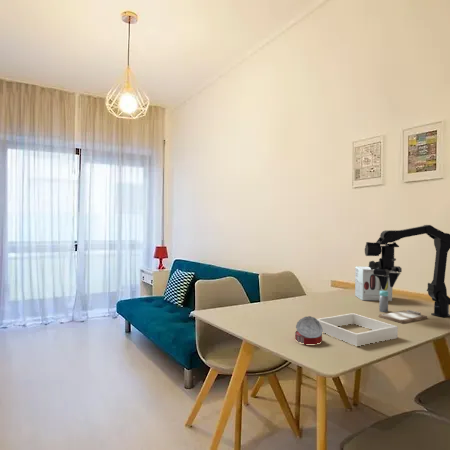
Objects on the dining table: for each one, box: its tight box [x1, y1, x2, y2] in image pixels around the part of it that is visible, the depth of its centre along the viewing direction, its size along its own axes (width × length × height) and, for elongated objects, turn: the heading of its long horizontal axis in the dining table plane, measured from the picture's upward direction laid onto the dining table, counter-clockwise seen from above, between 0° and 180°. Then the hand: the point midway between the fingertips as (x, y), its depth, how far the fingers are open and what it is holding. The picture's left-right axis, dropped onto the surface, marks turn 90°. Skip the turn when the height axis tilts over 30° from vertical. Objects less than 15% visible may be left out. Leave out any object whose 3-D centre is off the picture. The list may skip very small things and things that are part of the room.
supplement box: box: [354, 265, 393, 302], centre depth 206 cm, size 17×13×18 cm
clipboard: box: [378, 309, 428, 324], centre depth 165 cm, size 18×12×2 cm, turn 117°
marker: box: [378, 291, 389, 313], centre depth 176 cm, size 4×4×10 cm
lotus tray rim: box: [316, 312, 399, 347], centre depth 141 cm, size 22×22×4 cm
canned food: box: [294, 315, 323, 344], centre depth 133 cm, size 11×10×10 cm
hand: (387, 288), depth 172 cm, fingers open, 9 cm apart
